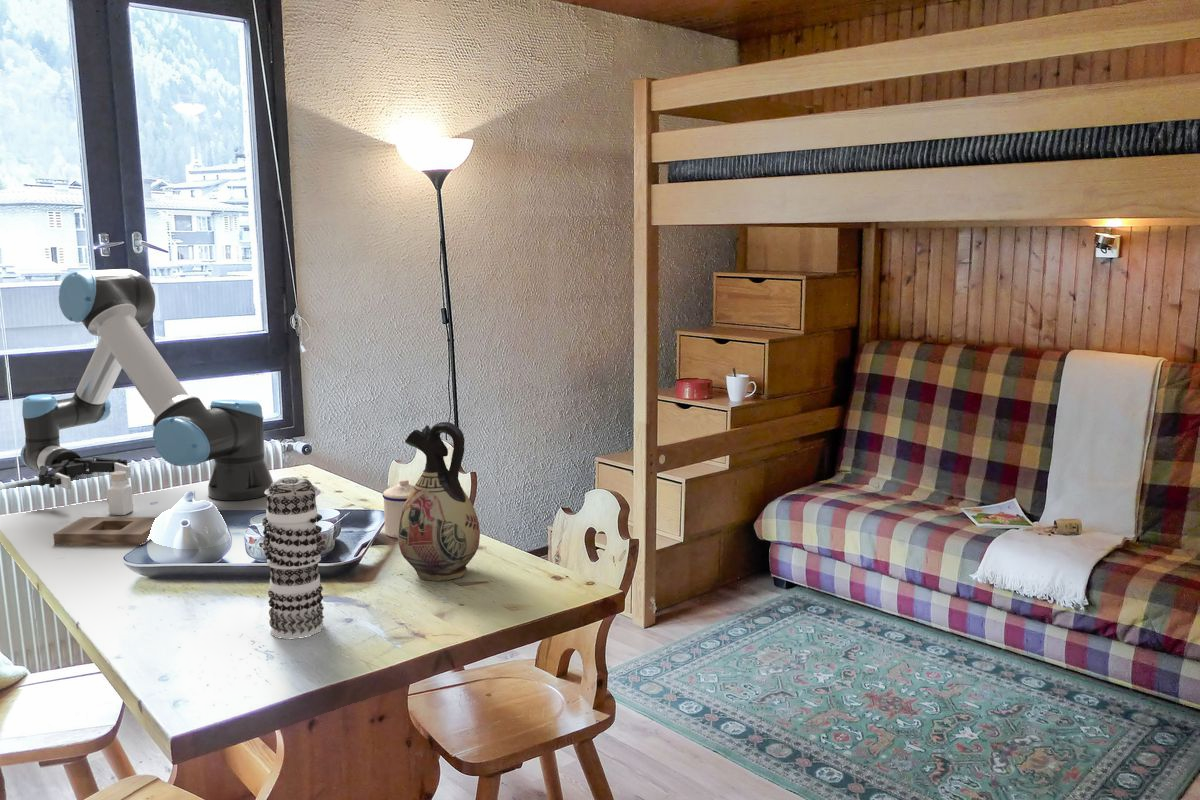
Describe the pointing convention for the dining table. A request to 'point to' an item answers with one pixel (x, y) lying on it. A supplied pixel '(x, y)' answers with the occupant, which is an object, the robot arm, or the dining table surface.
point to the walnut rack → (105, 531)
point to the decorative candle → (293, 558)
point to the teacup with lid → (395, 505)
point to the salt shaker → (120, 494)
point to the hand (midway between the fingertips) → (99, 478)
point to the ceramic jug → (438, 510)
